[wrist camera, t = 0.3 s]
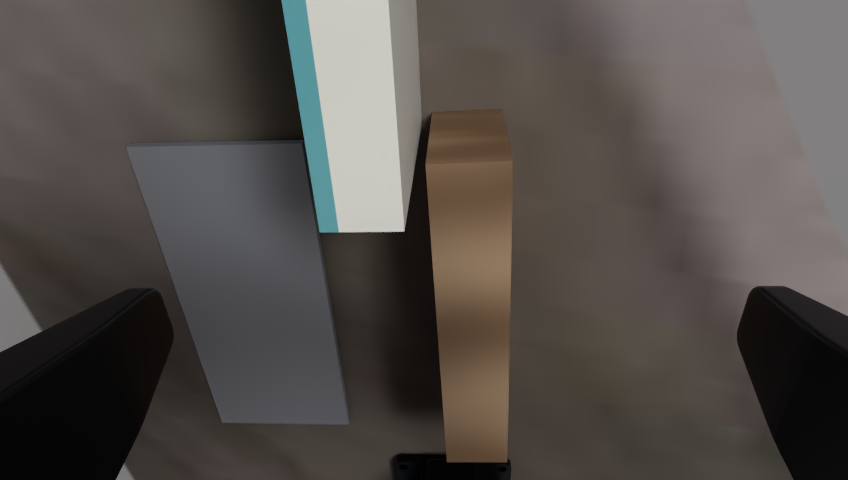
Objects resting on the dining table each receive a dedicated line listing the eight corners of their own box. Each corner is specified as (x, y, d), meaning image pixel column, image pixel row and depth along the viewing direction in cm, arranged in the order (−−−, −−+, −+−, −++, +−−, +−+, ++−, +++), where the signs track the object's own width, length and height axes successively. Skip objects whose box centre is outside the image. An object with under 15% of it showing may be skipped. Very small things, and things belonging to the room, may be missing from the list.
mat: (350, 418, 30) (348, 424, 29) (224, 416, 30) (222, 422, 30) (304, 139, 21) (301, 143, 21) (130, 143, 22) (125, 146, 21)
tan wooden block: (499, 376, 28) (507, 462, 23) (448, 376, 28) (446, 462, 24) (501, 107, 20) (513, 161, 16) (432, 110, 21) (425, 164, 16)
